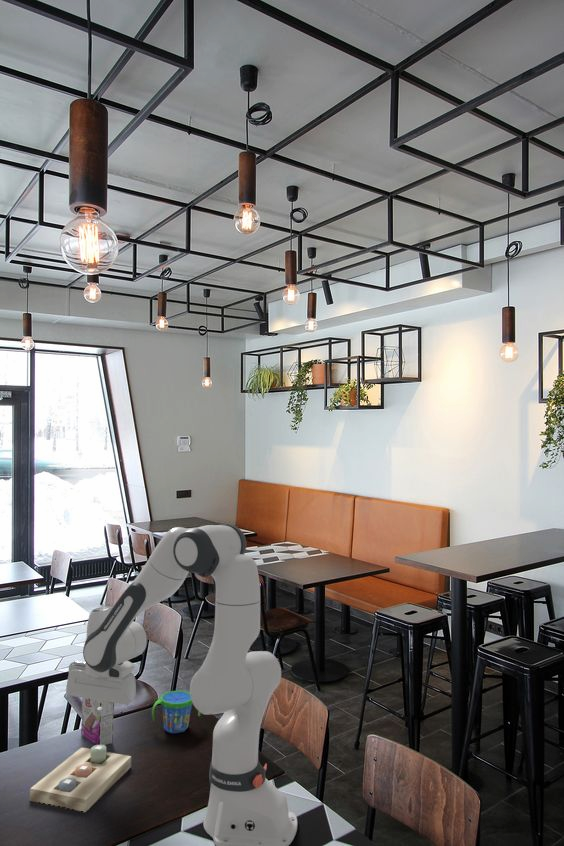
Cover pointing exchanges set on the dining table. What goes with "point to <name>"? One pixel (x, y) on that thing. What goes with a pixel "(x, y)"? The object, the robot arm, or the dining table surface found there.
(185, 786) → the dining table surface
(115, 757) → the button board
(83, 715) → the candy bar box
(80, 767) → the pink rounded knob
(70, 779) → the slate button
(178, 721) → the snack cup
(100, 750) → the sage button
